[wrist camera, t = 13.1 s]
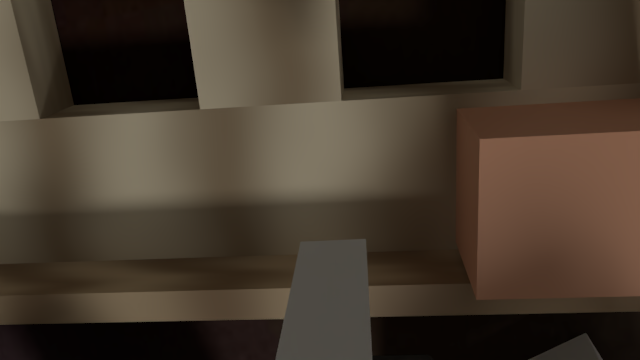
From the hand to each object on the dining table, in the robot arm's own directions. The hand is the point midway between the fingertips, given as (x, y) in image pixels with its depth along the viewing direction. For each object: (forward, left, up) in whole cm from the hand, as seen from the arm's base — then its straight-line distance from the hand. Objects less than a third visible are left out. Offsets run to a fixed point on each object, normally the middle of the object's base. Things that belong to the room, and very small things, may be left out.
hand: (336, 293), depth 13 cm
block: (+7, 0, -8) cm, 10 cm away
